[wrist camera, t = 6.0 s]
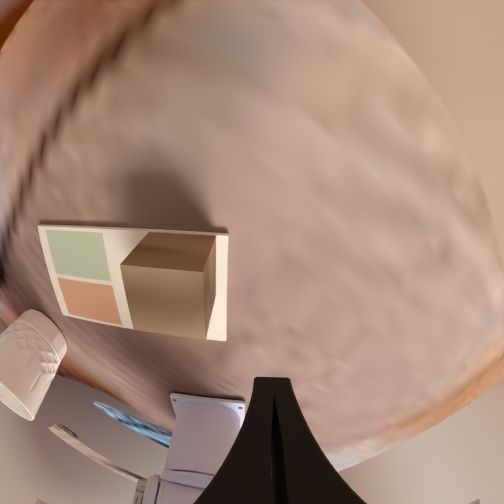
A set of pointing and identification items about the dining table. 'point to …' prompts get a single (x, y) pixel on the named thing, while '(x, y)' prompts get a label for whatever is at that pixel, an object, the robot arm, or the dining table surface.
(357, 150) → the dining table surface
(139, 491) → the energy drink can
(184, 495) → the robot arm
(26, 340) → the white cup
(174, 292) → the block
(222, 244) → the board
